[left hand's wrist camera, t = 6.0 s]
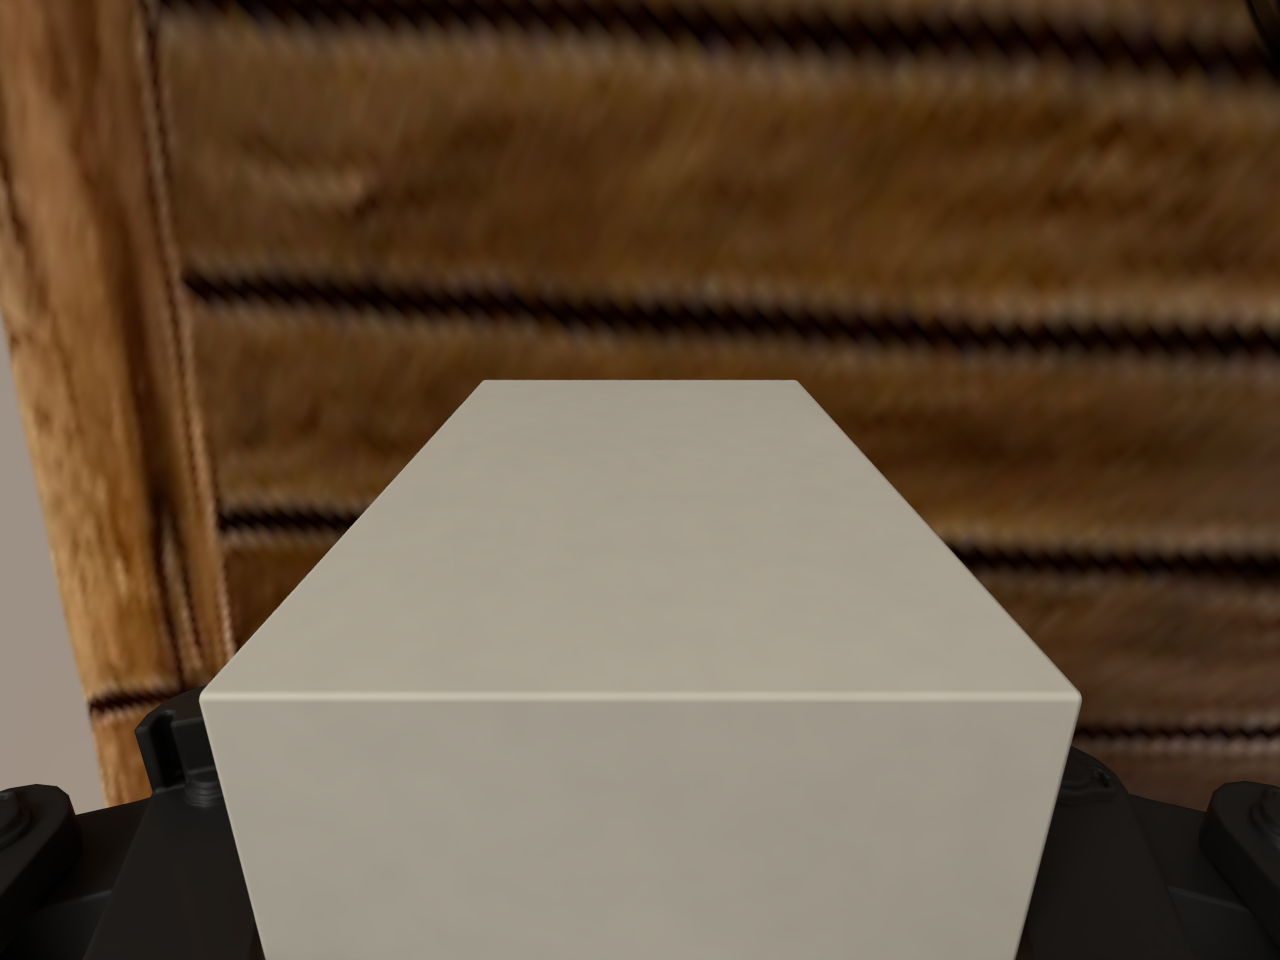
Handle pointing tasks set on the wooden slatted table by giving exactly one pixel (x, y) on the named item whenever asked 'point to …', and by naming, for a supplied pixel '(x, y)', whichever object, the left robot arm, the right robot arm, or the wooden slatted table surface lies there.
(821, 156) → the wooden slatted table surface
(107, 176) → the wooden slatted table surface
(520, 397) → the bar
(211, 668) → the wooden slatted table surface
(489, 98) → the wooden slatted table surface
